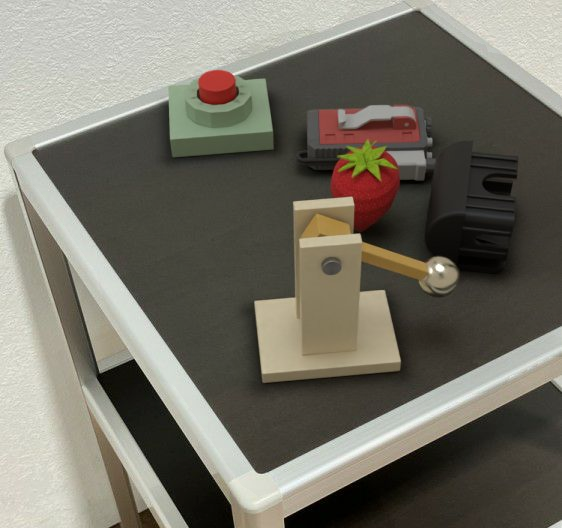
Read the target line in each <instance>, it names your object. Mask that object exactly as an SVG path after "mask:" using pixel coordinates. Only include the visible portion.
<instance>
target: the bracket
mask: <svg viewBox="0 0 562 528" xmlns="http://www.w3.org/2000/svg"><path fill="white" fill-rule="evenodd" d="M292 206H293V207H292V214H293V215H292V217H293V256H294V257H293V258H294V261H293V262H294V297H285V298H273V299H271V298H270V299H261V300H254V315H255V326H256V333H257V343H258V353H259V362H260V372H261V373H260V374H261V382H262V384H268V383H269V384H270V383H279V382H280V383H281V382H291V381H301V380H313V379H323V378H335V377H346V376H358V375H359V376H360V375H368V374H369V375H370V374H381V373H391V372H392V373H393V372H400V371H401V365H402V360H401V356H400V351H399V346H398V341H397V337H396V334H395V333H396V332H395V328H394V324H393V321H392V316H391V315H392V314H391V311H390V307H389V302H388V297H387V293H386V290H385V289H379V290H367V291H366V290H365V291H361V279H362V278H361V275H362V261H361V259H362V242H363V239H362V235H361V233H354V201H353V197H343V198H333V197H332V198H331V197H330V198H320V199H308V200H296V201H295V200H294V201H293V202H292ZM316 213H317V214H320V215H323V216H326V217H329V218H332V219H335V220H338V221H341V222H344V223H347V224H349V226H350V231H351V234H348V235H336V236H324V237H312V238H301V235H302V234H303V232H304V231H305V229H306V228H307V226H308V225H309V223H310V222H311V220H312V219H313V218H314V216H315V215H316Z"/></svg>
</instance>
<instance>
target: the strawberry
mask: <svg viewBox="0 0 562 528" xmlns="http://www.w3.org/2000/svg"><path fill="white" fill-rule="evenodd" d="M375 142H377V141H375ZM375 142H374V143H375ZM374 143H373V144H374ZM373 144H372V145H373ZM372 145H370V142H369V140H368V139H367V141H366V143H365V144H364V146H363V147H358V148H354V147H351V146H347V148H348V149H350V150H351V151H350V152H348V153H347V154H345V155H338V156H337V157H338V158H341V159H340V160H339V161H338V162H337V164H336V166H335V168H334V170H333V172H332V175H331V180H330V187H329V188H330V192H331V193H330V194H331V197H332V198H343V197H353V201H354V227H353V230H355V231H357V232H359V233H361V232H365V231H367V230H368V229H369V228H370V227H372V226H373V225H374V224H376V223H377V222H378V221H379V220H380V219H381V218H382V217H383V216H384V215H385V214H387V212H388V211H389V210H390V209H391V207H392V206H393V204H394V201H395V198H396V196H397V193H398V192H399V189H400V184H401V180H400V176H399V168H398V164H397V162H396V160H395V159H394V158H393V157H392V156H391V155H390V154H389V153H388V152H386V151H385V148H386V147H387V146H384V147H380V148H379V147H374V146H372Z"/></svg>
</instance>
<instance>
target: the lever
mask: <svg viewBox="0 0 562 528" xmlns="http://www.w3.org/2000/svg"><path fill="white" fill-rule="evenodd" d="M348 234H351V231H350V226H349V224H347V223H344V222H341V221H338V220H335V219H332V218H329V217H326V216H323V215H320V214H317V213H316V215H315V216H314V218H313V219H312V220H311V222H310V223H309V225H308V226H307V228H306V229H305V231H304V232H303V234H302V235H301V238H312V237H324V236H336V235H348ZM361 263H365V264H369V265H371V266H375V267H377V268H380V269H384V270H387V271H390V272H393V273H396V274H399V275H402V276H405V277H408V278H412V279H413V280H414V279H415V280H417V281H418V285H419V287H420V289H421V291H422V292H424V294H426V295H427V296H430V297H433V298H445V297H448V296H449V295H451V294H452V293H454V291H455V290H456V289H457V288H458V286H459V284H460V279H461V273H460V269H458V267H457V265H456V264H455V263H454V262H453V261H452V260H451V259H449V258H447V257H444V256H435V257H433V256H432V257H430V258H427V259H426V260H425V261H421V260H418V259H416V258H412V257H409V256H407V255H404V254H400V253H397V252H394V251H390V250H388V249H386V248H383V247H379V246H376V245H373V244H371V243H367V242H364V241H362V259H361Z"/></svg>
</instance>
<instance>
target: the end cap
mask: <svg viewBox="0 0 562 528" xmlns="http://www.w3.org/2000/svg"><path fill="white" fill-rule="evenodd" d="M473 147H474V139H464V140H458V141H456V142H453V143H451V144H449V145H447V146H446V147H444V148H443V149H442V150H441V151H440V152H439V154H438V155H437V157H436V158H435V159H436V162H435V166H434V173H432V174H433V175H432V180H431V188H430V194H429V201H428V207H427V208H428V209H427V214H426V220H425V228H424V234H423V235H424V236H423V240H424V244H425V247H426V249H427V251H428V252H429V254H431V256H432V257H435V256H444V257H447V258H449V259H451V260H452V261H453V262H454V263H455V264H456V265H457V267H458V269H459V270H460V271H461V270H463V271H470V272H478V273H479V272H480V273H489V274H501V273H503V272H504V269H505V264H506V263H505V262H507V260H508V259H507V258H508V253H509V249H510V245H508V238H512V235H513V230H514V226H515V219H516V218H515V217H516V204H517V196H513V195H511V194H512V189H513V187H514V186H513V185H514V180H517V179H518V171H519V155H517V154H516V155H515V154H505V153H494V152H485V151H474V150H473ZM513 179H514V180H513Z"/></svg>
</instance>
